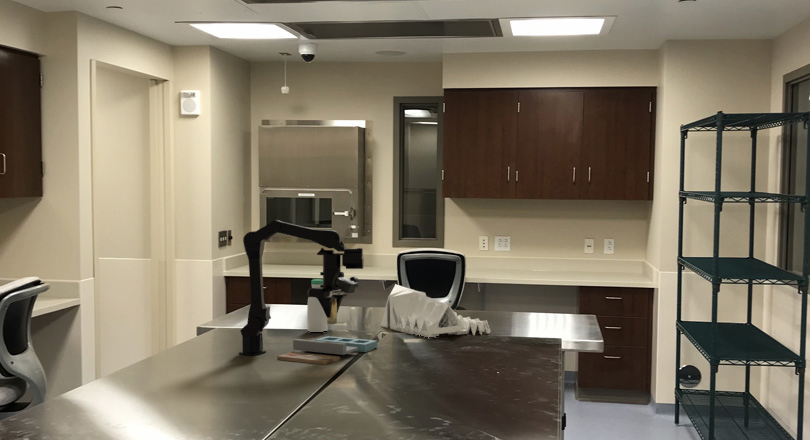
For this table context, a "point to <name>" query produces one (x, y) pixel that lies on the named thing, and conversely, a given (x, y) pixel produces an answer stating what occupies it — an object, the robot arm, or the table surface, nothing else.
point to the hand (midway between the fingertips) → (331, 316)
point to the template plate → (308, 358)
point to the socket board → (352, 342)
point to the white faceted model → (425, 315)
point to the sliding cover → (322, 346)
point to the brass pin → (333, 313)
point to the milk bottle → (316, 312)
